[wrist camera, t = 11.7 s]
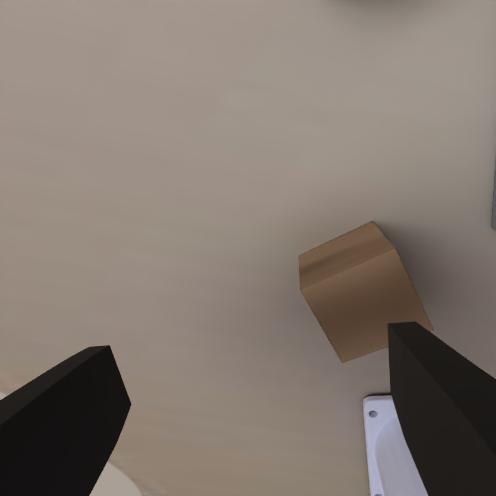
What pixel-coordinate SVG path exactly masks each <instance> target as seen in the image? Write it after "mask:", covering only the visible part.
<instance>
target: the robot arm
mask: <svg viewBox="0 0 496 496" xmlns="http://www.w3.org/2000/svg"><path fill="white" fill-rule="evenodd" d="M387 325H388V346H389V367H390V389H391V395H387V396H369V397H366V398H365V399H364V400H363V414H364V426H365V438H366V450H367V462H368V475H369V487H370V496H496V379H495V378H493V377H492V376H490V375H489V374H487V373H486V372H485V371H483V370H482V369H480V368H479V367H477V366H476V365H474V364H473V363H472V362H470V361H469V360H468V359H466V358H465V357H463V356H462V355H461V354H459V353H458V352H456V351H455V350H454V349H452V348H451V347H450V346H448V345H447V344H446V343H444V342H443V341H441V340H440V339H439V338H437V337H436V336H435V335H433V334H432V333H431V332H429V331H428V330H427V329H425V328H424V327H423V326H421V325H420V324H418V323H417V322H416V321H413V322H400V323H387ZM130 407H131V402H130V399H129V397H128V394H127V391H126V388H125V386H124V383H123V380H122V378H121V375H120V372H119V369H118V367H117V364H116V361H115V359H114V356H113V353H112V350H111V348H110V345H107V346H94V347H89V348H86V349H84V350H82V351H80V352H79V353H77V354H75V355H73V356H71V357H70V358H68V359H66V360H65V361H63V362H61V363H60V364H58V365H56V366H55V367H53V368H51V369H50V370H48V371H46V372H45V373H43V374H42V375H40V376H38V377H37V378H35V379H34V380H32V381H30V382H29V383H27V384H26V385H24V386H22V387H21V388H19V389H18V390H16V391H14V392H13V393H11V394H10V395H8V396H6V397H5V398H3V399H2V400H0V496H89V495H90V493H91V491H92V490H93V488H94V486H95V484H96V482H97V480H98V478H99V476H100V474H101V472H102V471H103V469H104V467H105V465H106V463H107V461H108V459H109V457H110V455H111V453H112V451H113V449H114V447H115V445H116V443H117V441H118V438H119V436H120V433H121V431H122V429H123V426H124V423H125V421H126V418H127V415H128V412H129V409H130ZM370 411H374V412H370Z"/></svg>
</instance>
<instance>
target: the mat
mask: <svg viewBox="0 0 496 496" xmlns="http://www.w3.org/2000/svg"><path fill="white" fill-rule="evenodd" d="M491 227H492V228H494V229H496V163H495V179H494V195H493V211H492V226H491Z"/></svg>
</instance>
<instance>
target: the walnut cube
mask: <svg viewBox="0 0 496 496" xmlns="http://www.w3.org/2000/svg"><path fill="white" fill-rule="evenodd" d="M299 272H300V291H301V292H302V294H303V296H304V298H305V299H306V301H307V303H308V305H309V306H310V308H311V310H312V312H313V313H314V315H315V317H316V319H317V320H318V322H319V324H320V326H321V327H322V329H323V331H324V333H325V334H326V336H327V338H328V340H329V341H330V343H331V345H332V346H333V348H334V350H335V352H336V353H337V355H338V357H339V359H340V360H341V362H342V363H344V362H347V361H349V360H352V359H355V358H358V357H360V356H363V355H366V354H369V353H372V352H374V351H377V350H380V349H383V348H385V347H388V325H387V323H400V322H413V321H416V322H417V323H418V324H420V325H421V326H423V327H424V328H425V329H427V330H428V331H429V332H430V331H433V330H434V329H433V327H432V325H431V323H430V321H429V319H428V317H427V314H426V312H425V310H424V308H423V306H422V304H421V302H420V300H419V297H418V295H417V293H416V291H415V289H414V287H413V285H412V283H411V280H410V278H409V276H408V274H407V272H406V270H405V268H404V265H403V263H402V261H401V259H400V257H399V255H398V253H397V251H396V248H395V247H394V246H393V245H392V244H391V242H390V241H389V240H388V239H387V238H386V237H385V235H384V234H383V233H382V232H381V231H380V229H379V228H378V227H377V226H376V225H375V223H374V222H373V221H371V222H369V223H367V224H365V225H363V226H360V227H358V228H356V229H354V230H352V231H350V232H348V233H346V234H344V235H341V236H339V237H337V238H335V239H333V240H331V241H329V242H327V243H325V244H323V245H320V246H318V247H316V248H314V249H312V250H310V251H308V252H306V253H304V254H301V255H299Z"/></svg>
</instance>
